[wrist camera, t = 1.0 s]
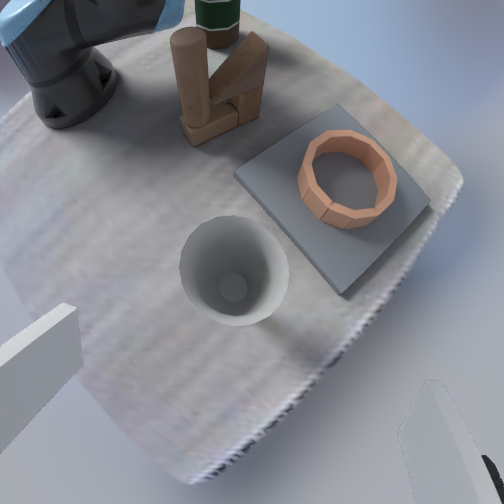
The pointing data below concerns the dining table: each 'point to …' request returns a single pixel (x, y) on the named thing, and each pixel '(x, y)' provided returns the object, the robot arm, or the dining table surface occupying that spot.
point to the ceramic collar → (370, 158)
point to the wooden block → (217, 84)
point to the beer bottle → (218, 21)
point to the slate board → (339, 191)
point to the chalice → (234, 270)
